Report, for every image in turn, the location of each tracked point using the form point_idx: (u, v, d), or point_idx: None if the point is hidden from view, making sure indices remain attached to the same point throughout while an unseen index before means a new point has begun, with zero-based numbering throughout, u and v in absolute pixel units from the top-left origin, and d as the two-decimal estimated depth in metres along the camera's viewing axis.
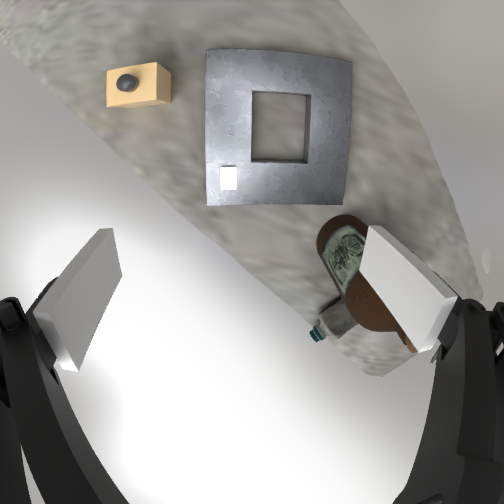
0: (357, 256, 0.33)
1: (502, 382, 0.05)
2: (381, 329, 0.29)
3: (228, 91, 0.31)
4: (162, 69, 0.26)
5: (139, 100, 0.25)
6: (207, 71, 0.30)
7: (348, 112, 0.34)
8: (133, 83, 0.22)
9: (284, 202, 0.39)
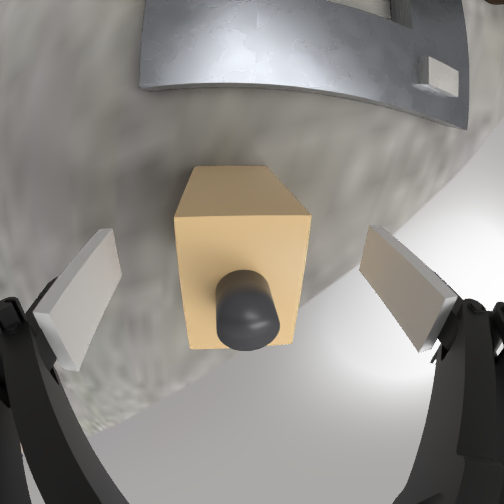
0: None
1: (502, 382, 0.05)
2: None
3: (260, 33, 0.11)
4: (193, 191, 0.11)
5: (301, 265, 0.10)
6: (201, 79, 0.12)
7: None
8: (256, 304, 0.08)
9: (461, 9, 0.09)
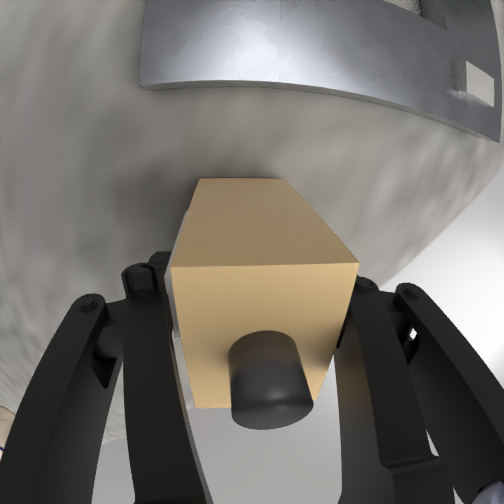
0: None
1: (428, 375, 0.06)
2: None
3: (283, 24, 0.09)
4: (197, 217, 0.09)
5: (338, 322, 0.07)
6: (213, 75, 0.10)
7: None
8: (286, 389, 0.06)
9: (491, 11, 0.07)
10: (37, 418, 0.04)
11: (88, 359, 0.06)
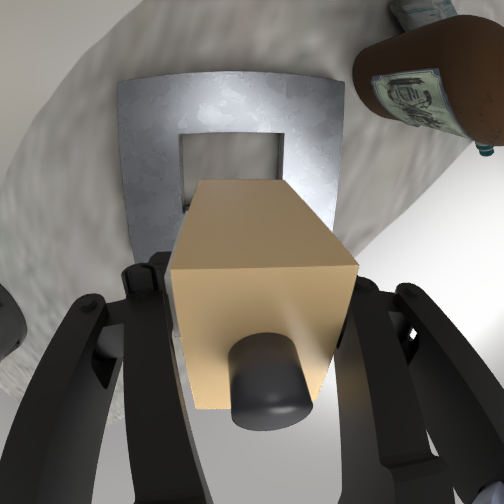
0: (430, 103, 0.15)
1: (428, 376, 0.06)
2: None
3: None
4: (197, 219, 0.09)
5: (338, 324, 0.07)
6: None
7: (198, 75, 0.21)
8: (286, 391, 0.06)
9: (337, 166, 0.27)
10: (38, 418, 0.04)
11: (88, 359, 0.06)
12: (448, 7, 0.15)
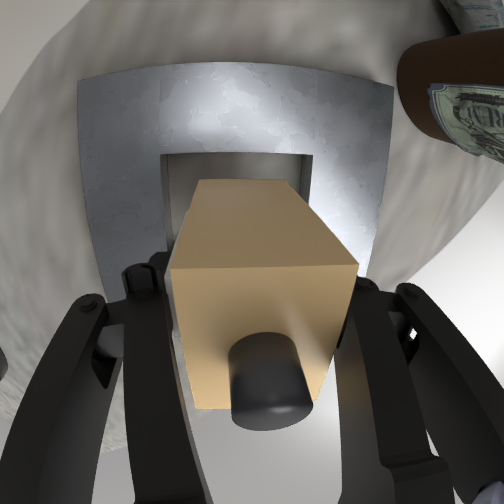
0: None
1: (428, 376, 0.06)
2: None
3: None
4: (197, 219, 0.09)
5: (338, 324, 0.07)
6: None
7: (190, 68, 0.14)
8: (286, 390, 0.06)
9: (378, 201, 0.19)
10: (37, 418, 0.04)
11: (88, 359, 0.06)
12: (501, 9, 0.08)
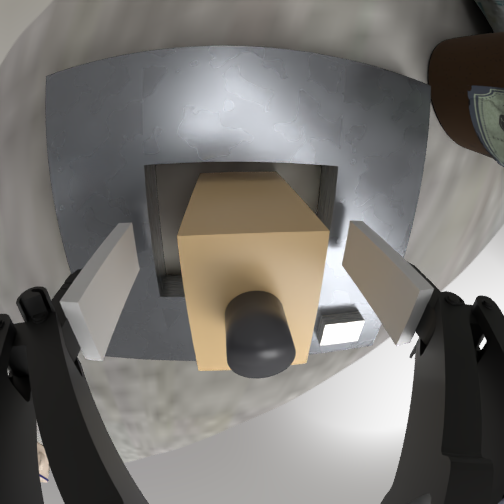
0: None
1: (487, 378, 0.06)
2: None
3: (170, 332, 0.18)
4: (198, 202, 0.10)
5: (317, 285, 0.09)
6: (139, 356, 0.19)
7: (182, 53, 0.10)
8: (270, 332, 0.07)
9: (410, 222, 0.16)
10: None
11: (5, 373, 0.05)
12: None
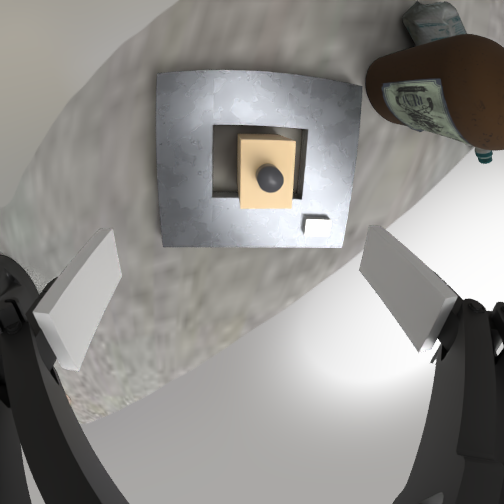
0: (432, 109, 0.17)
1: (502, 382, 0.05)
2: None
3: (214, 223, 0.31)
4: None
5: (292, 163, 0.22)
6: (189, 245, 0.32)
7: (233, 73, 0.24)
8: (274, 168, 0.21)
9: (353, 161, 0.29)
10: None
11: None
12: (457, 23, 0.18)
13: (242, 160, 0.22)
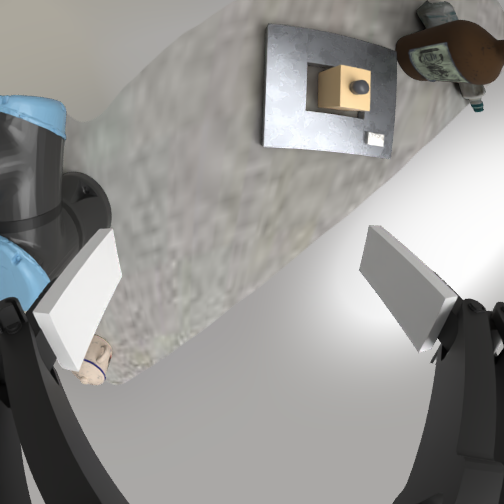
0: (442, 60, 0.24)
1: (502, 382, 0.05)
2: (500, 70, 0.18)
3: (305, 130, 0.38)
4: None
5: (369, 83, 0.29)
6: (285, 146, 0.39)
7: (320, 32, 0.31)
8: (364, 80, 0.28)
9: (394, 98, 0.36)
10: None
11: None
12: (453, 16, 0.25)
13: (341, 76, 0.29)
